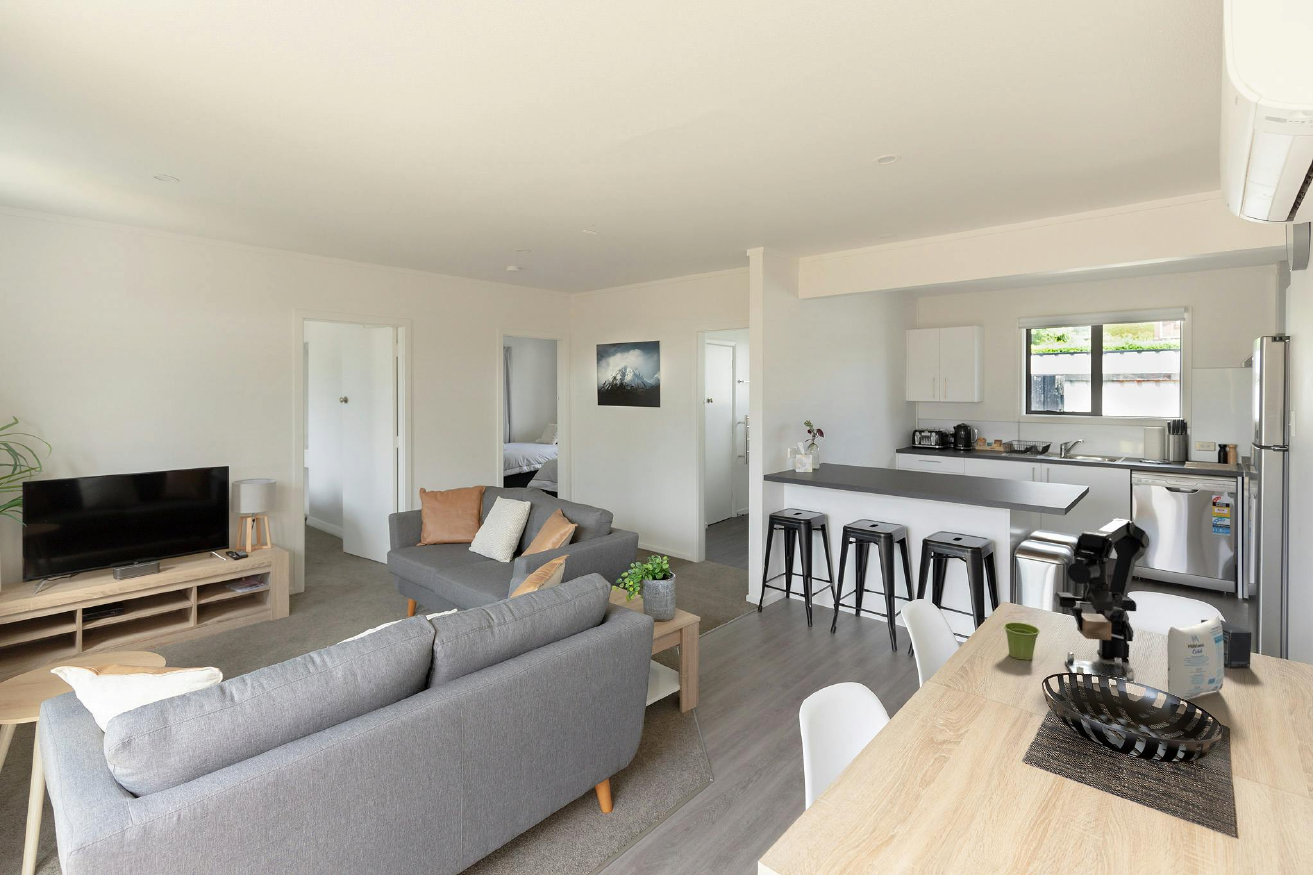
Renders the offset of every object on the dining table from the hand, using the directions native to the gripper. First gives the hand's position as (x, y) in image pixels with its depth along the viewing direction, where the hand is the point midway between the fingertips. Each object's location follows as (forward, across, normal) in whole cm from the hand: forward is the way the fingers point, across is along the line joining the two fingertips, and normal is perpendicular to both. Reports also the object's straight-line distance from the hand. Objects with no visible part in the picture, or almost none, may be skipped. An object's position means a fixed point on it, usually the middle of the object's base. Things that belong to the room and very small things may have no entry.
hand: (1093, 631), depth 186 cm
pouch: (+11, +18, -14) cm, 26 cm away
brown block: (+1, 0, 0) cm, 1 cm away
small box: (+11, +38, +14) cm, 42 cm away
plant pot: (+11, -17, +6) cm, 21 cm away
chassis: (+11, 0, -4) cm, 12 cm away
